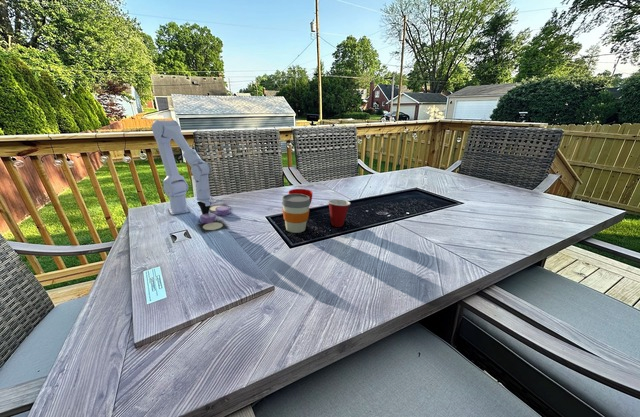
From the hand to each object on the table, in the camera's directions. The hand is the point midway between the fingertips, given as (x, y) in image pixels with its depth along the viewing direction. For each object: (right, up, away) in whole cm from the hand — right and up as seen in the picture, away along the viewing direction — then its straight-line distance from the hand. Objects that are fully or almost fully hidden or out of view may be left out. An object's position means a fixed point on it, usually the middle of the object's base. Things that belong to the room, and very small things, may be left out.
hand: (205, 215), depth 127 cm
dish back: (+6, +1, +7) cm, 9 cm away
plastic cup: (+64, -4, 0) cm, 64 cm away
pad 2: (+7, -4, -9) cm, 12 cm away
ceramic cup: (+44, +2, +16) cm, 47 cm away
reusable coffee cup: (+44, -6, -7) cm, 45 cm away
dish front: (+3, -2, -3) cm, 5 cm away
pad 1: (+1, +4, +13) cm, 14 cm away
